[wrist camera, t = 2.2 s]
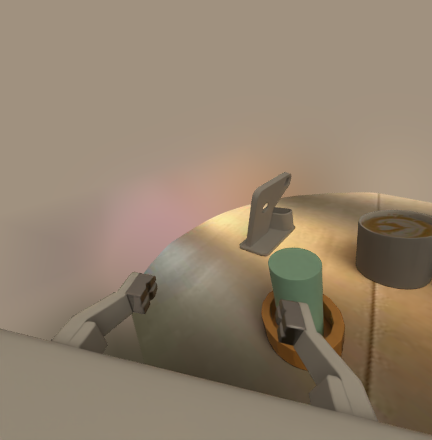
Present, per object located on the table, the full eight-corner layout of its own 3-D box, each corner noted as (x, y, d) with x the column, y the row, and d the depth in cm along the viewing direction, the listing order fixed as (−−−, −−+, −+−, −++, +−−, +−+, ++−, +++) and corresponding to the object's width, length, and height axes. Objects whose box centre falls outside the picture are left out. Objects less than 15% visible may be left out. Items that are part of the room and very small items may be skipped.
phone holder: (269, 222, 61) (261, 172, 54) (297, 226, 54) (292, 169, 47) (238, 247, 52) (223, 191, 45) (267, 257, 44) (255, 192, 37)
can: (316, 359, 23) (312, 287, 18) (272, 333, 27) (259, 270, 22) (328, 321, 26) (327, 253, 21) (288, 303, 31) (279, 244, 26)
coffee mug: (343, 266, 35) (345, 224, 32) (375, 246, 38) (380, 205, 34) (442, 316, 24) (464, 259, 20) (479, 283, 26) (505, 227, 22)
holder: (333, 393, 20) (333, 375, 18) (253, 339, 27) (248, 323, 26) (349, 318, 26) (350, 300, 25) (281, 292, 34) (279, 276, 32)
